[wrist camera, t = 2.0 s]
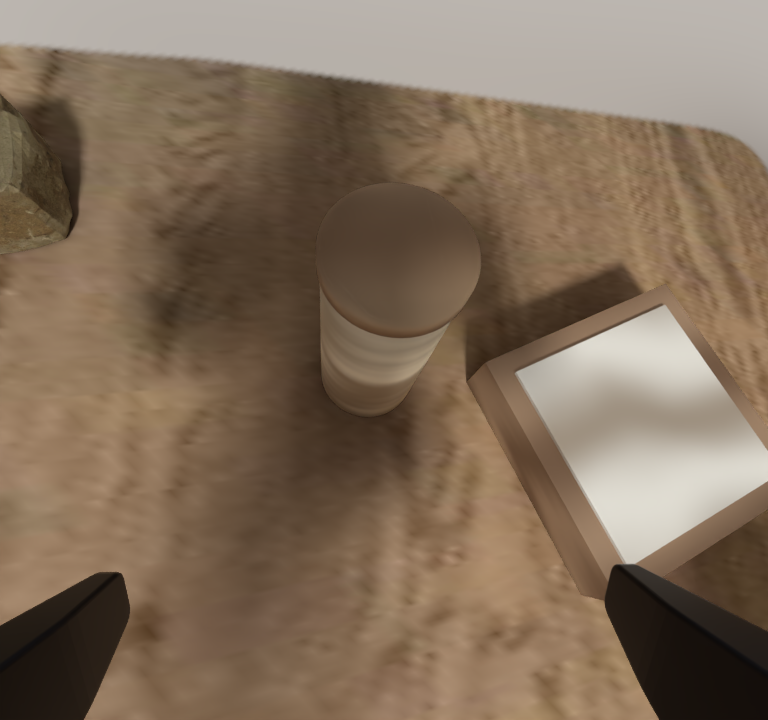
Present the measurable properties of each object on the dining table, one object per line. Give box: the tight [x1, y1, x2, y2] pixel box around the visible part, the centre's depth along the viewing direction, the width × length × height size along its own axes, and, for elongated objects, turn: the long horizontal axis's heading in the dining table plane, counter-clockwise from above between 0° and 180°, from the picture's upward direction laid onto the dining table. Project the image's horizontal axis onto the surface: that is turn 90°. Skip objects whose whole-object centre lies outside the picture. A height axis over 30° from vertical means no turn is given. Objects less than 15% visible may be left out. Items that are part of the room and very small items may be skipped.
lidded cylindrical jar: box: [316, 183, 481, 417], centre depth 19 cm, size 5×5×11 cm
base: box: [467, 284, 768, 601], centre depth 23 cm, size 11×11×3 cm
